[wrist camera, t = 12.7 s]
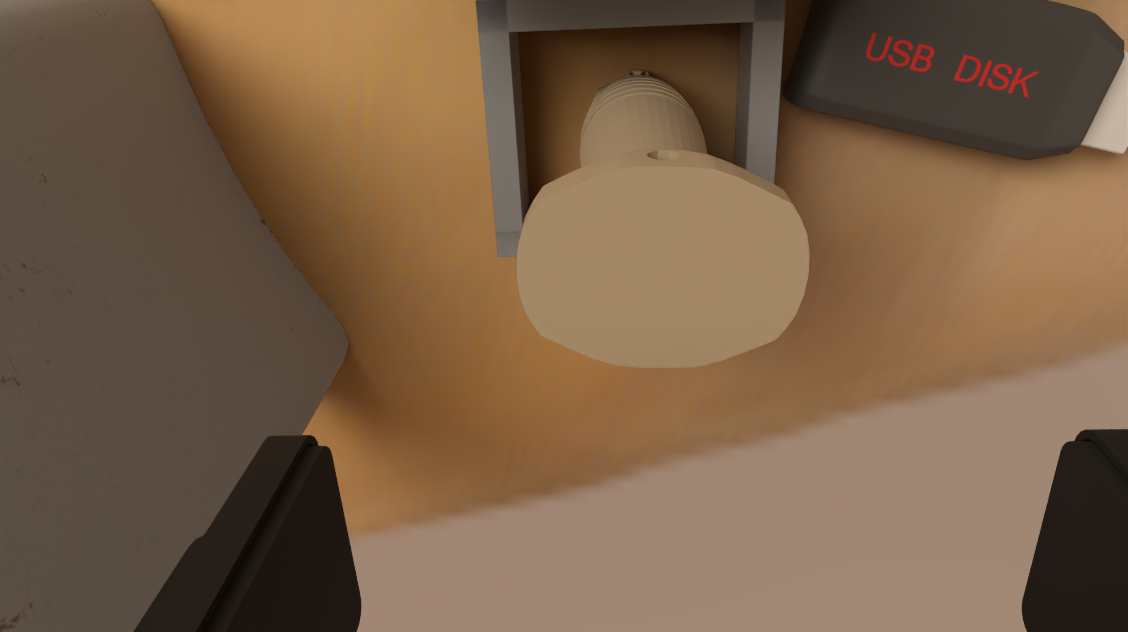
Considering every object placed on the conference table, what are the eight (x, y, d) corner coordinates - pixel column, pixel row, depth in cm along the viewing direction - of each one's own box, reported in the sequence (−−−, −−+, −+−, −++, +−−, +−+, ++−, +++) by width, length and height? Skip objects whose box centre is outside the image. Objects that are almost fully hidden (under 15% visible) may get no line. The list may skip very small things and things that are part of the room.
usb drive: (828, -53, 30) (848, -49, 27) (1152, 25, 31) (1199, 37, 28) (780, 94, 32) (794, 111, 30) (1081, 164, 33) (1120, 186, 30)
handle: (549, 43, 31) (513, 165, 18) (726, 44, 31) (823, 168, 18) (550, 171, 33) (518, 365, 20) (715, 173, 33) (794, 370, 20)
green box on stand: (824, -281, 27) (918, -356, 19) (787, 221, 34) (843, 323, 26) (430, -256, 27) (355, -318, 19) (477, 229, 35) (437, 331, 27)
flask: (29, 15, 32) (-1352, 310, 9) (130, -36, 31) (-1136, 156, 8) (272, 390, 39) (-191, 1078, 16) (361, 358, 38) (0, 1042, 15)
